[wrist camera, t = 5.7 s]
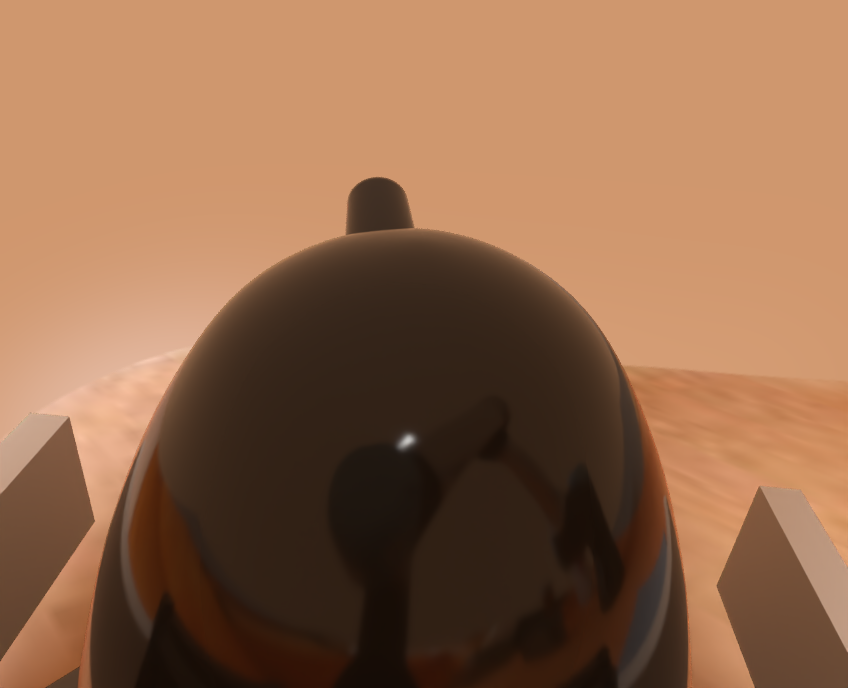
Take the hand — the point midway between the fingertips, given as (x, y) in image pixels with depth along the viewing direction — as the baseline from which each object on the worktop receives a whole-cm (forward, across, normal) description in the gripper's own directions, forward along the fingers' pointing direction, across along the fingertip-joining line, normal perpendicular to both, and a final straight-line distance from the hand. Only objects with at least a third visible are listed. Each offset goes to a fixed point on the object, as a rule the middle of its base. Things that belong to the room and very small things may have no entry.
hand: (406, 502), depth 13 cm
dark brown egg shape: (-3, 0, -9) cm, 9 cm away
